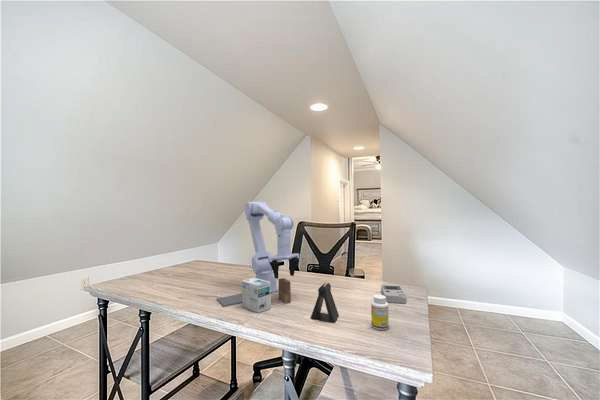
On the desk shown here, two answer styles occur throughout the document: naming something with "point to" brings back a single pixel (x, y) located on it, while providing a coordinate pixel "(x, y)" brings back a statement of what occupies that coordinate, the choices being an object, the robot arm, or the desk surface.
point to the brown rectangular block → (284, 291)
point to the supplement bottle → (380, 312)
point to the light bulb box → (256, 294)
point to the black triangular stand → (330, 305)
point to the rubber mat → (230, 300)
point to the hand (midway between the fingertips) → (284, 276)
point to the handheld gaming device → (393, 294)
